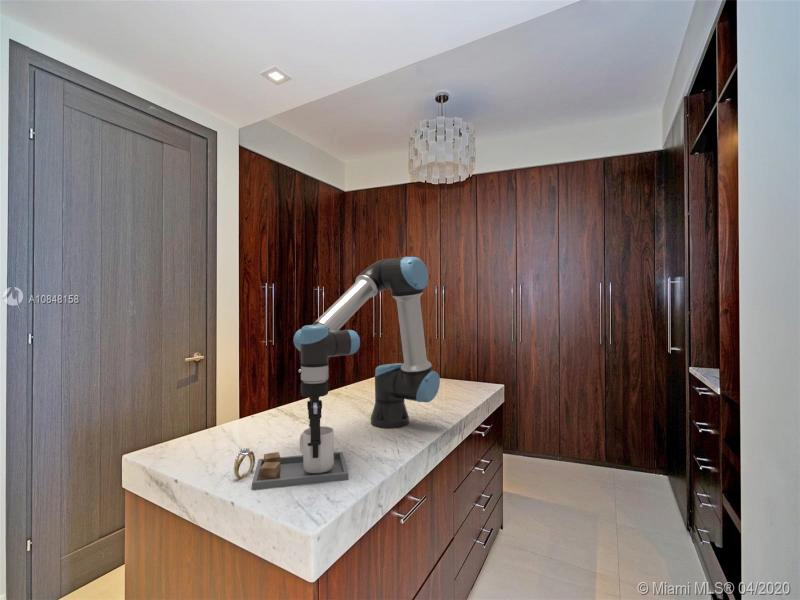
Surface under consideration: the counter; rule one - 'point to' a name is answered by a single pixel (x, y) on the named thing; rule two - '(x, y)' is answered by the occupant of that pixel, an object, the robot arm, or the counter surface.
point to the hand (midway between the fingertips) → (314, 461)
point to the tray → (300, 473)
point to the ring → (237, 463)
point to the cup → (326, 449)
